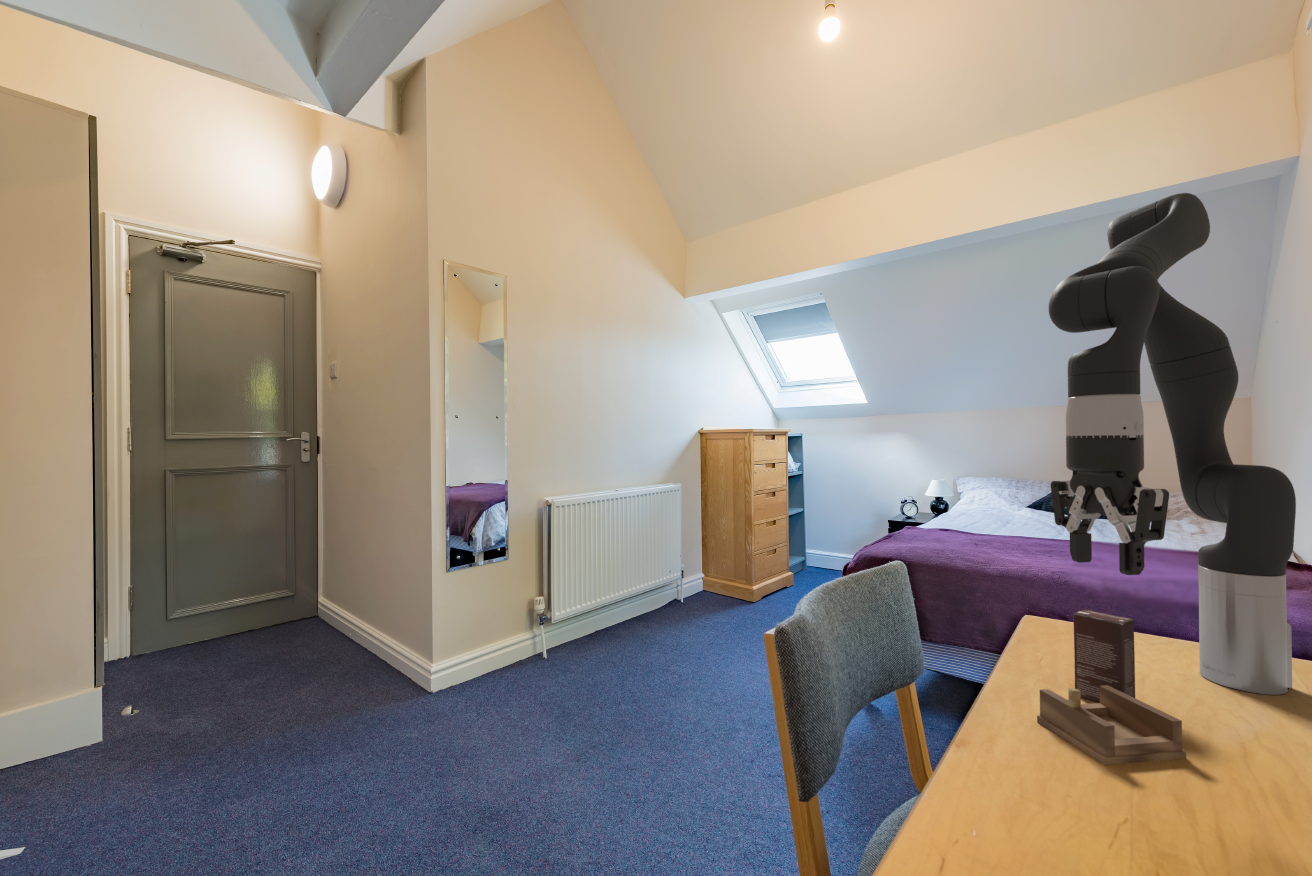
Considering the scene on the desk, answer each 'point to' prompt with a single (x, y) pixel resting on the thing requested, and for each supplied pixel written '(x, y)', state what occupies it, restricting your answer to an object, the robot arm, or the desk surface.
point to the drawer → (1112, 726)
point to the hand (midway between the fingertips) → (1105, 567)
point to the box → (1103, 653)
